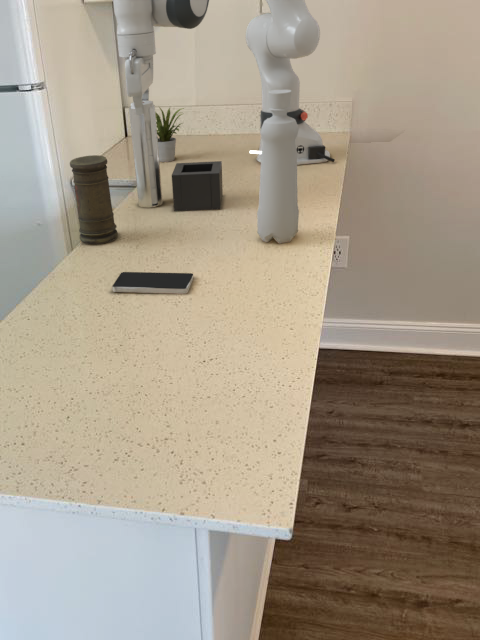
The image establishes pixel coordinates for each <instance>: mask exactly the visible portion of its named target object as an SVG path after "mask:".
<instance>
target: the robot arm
mask: <svg viewBox="0 0 480 640" xmlns="http://www.w3.org/2000/svg"><path fill="white" fill-rule="evenodd" d="M265 1H266V3H267V6H268V8H269V11H270V12H266V13H262V14H260V15H257V16H255V17H253V18H251V20H250V21H249V23H248V25H247V27H246V29H245V42H246V45H247V47H248V49H249V50H250V51H251V53H252V56H254V59H255V62H256V65H257V68H258V72H259V78H260V83H261V84H260V85H261V110H260V114H259V130H261V127H262V125H263V123H264V121H265V120H266V119H268V118H270V117H272V116H273V114H272V112H271V110H269V108H270V103H269V91H273V90H291V91H292V92H291V100H290V107H291V109H289V110H288V112H287V116H289V117H291V118H294V119H295V120H296V122H297V125H298V127H299V131H298V135H297V137H296V139H295V144H296V150H297V166H299V165H308V164H309V165H310V164H318V163H319V164H320V163H326V162H328V161H330V162H331V163H334V162H335V159H334V158H332V157H331V153H330V151H328V150H327V149H326V146H325V145H324V142H323V138H322V135H321V134H320V133H319V132H318V131H317V130H316V129H314V128H313V127H312V126H310V124H308V123H307V122H306V120H307V119H308V117H309V116H308V115H309V114H308V112H306V111H305V110H304V109H302V108H300V91H301V90H300V87H301V85H300V84H301V81H300V78H299V76H298V75H297V73H296V72H295V70H294V69H293V66H292V63H291V59H292V60H297V59H302V58H305V57H309V56H310V55H312V54H313V53H314V52H315V50H316V49H317V47H318V45H319V42H320V38H321V29H320V25H319V23H318V21H317V20H316V19H315V18H314V16H313V15H312V14H311V12H310V11H309V8H308V6H307V3H306V1H305V0H265ZM112 2H113V3H112V4H113V12H114V16H115V19H116V23H117V24H116V26H117V27H116V40H117V49H118V57H119V58H122V59H124V74H125V75H124V76H125V88H126V95H127V96H128V98H132V103H133V102H134V105H135V111H136V114H137V115H142V114H143V112H144V109H143V103H142V101H150V99H149V98H150V87H151V85H152V84H153V83H154V56H155V55H156V53H157V48H156V36H155V28H154V27H158V28H159V27H163V28H179V29H188V30H192V29H195V28H196V27H198V26H200V24H201V23H202V22H203V20H204V18H205V16H206V14H207V12H208V7H209V3H210V0H112ZM263 143H264V142H263V140H262V138H261V137H260V139H259V147H258V150H249V154H256V155H257V156H256V162H258V163H261V153H262V148H263Z"/></svg>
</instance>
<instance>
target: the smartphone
mask: <svg viewBox="0 0 480 640" xmlns="http://www.w3.org/2000/svg"><path fill="white" fill-rule="evenodd" d="M193 281H194V273H191V272H151V271H150V272H149V271H148V272H146V271H145V272H144V271H122V272H120V274H119V275H118V277H117V278H116V279H115V282H114V283H113V284H112V286H111V287H112V291H113V292H114V293H142V294H143V293H144V294H145V293H146V294H178V295H179V294H180V295H181V294H183V295H185V294H188V292H189V290H190V287H191V285H192V284H193Z"/></svg>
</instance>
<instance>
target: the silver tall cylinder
mask: <svg viewBox="0 0 480 640" xmlns="http://www.w3.org/2000/svg"><path fill="white" fill-rule="evenodd" d="M142 103H143V109H144V112H143V114H142V115H137V114H136V111H135V105H134V102H133V101H132V102H130V106H129V107H128V114H129V115H128V116H129V125H130V133H131V144H132V152H133V154H132V155H133V162H134V163H133V164H134V171H135V183H136V184H135V185H136V191H137V192H136V194H137V203H138V206H139V207H141V208H147V209H149V208H156V207H159V206H162V205H163V190H162V189H163V188H162V178H161V165H160V161H159V151H158V138H157V137H158V135H157V130H158V128H157V127H156V126H157V124H156V122H157V120H156V114H155V112H156V106H155V104H154V101H153V100H149V101H142Z"/></svg>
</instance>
